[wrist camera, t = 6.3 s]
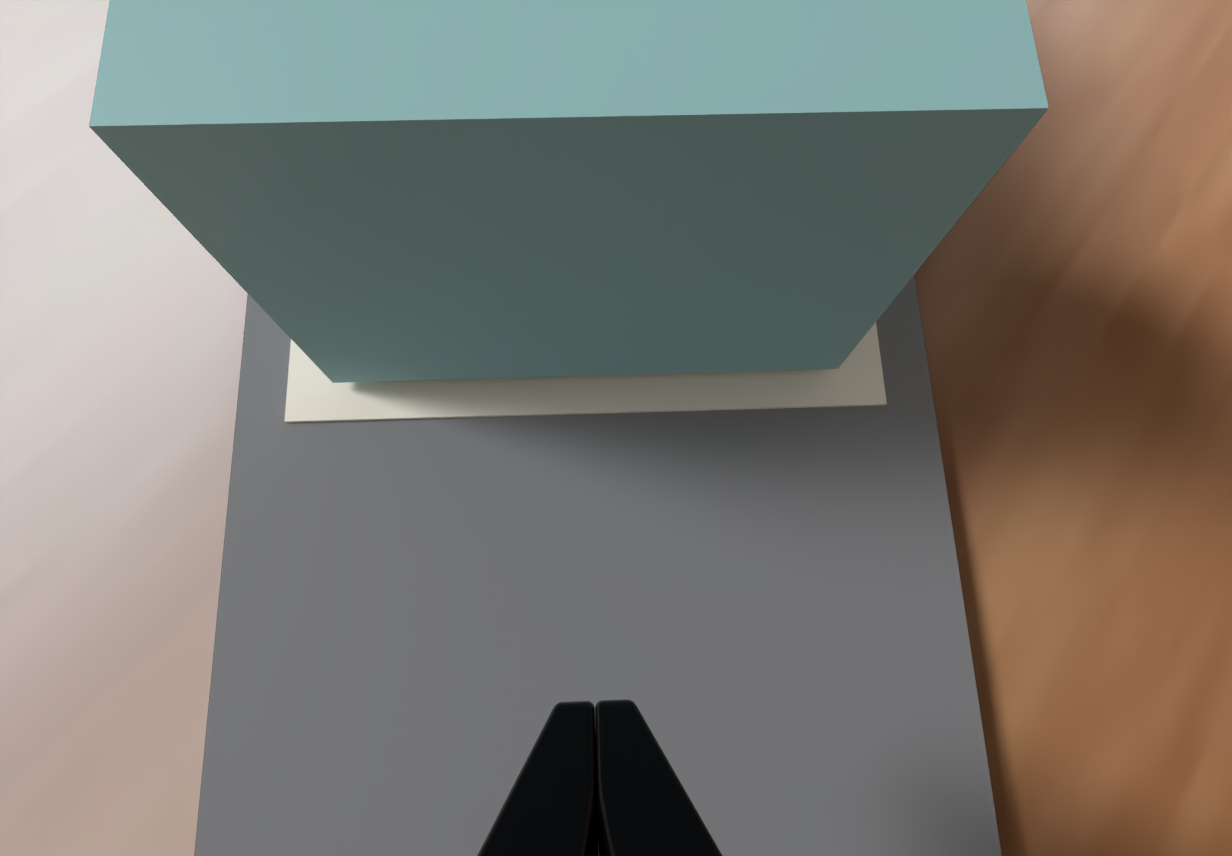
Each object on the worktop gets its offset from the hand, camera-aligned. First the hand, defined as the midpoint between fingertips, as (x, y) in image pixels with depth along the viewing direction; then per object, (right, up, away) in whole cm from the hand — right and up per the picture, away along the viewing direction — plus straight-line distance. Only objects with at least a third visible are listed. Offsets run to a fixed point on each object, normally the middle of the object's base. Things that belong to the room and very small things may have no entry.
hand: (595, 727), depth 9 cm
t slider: (-1, +9, +9) cm, 13 cm away
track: (0, +6, +9) cm, 11 cm away
